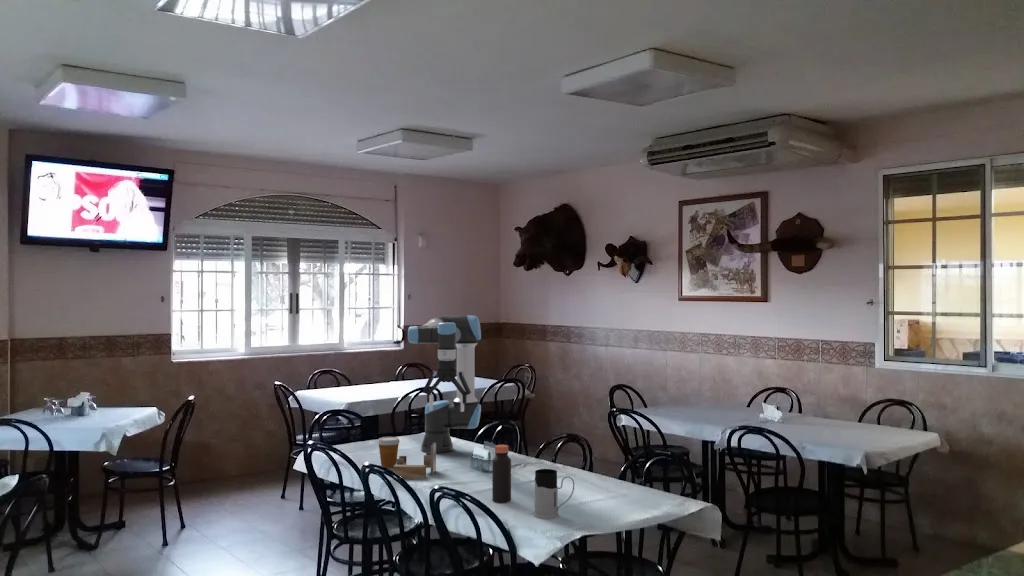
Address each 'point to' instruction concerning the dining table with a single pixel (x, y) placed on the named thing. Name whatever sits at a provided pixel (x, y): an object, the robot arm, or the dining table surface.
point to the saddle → (401, 460)
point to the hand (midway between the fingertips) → (446, 410)
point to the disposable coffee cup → (388, 451)
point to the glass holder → (547, 494)
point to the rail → (410, 471)
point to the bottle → (501, 475)
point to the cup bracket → (431, 459)
